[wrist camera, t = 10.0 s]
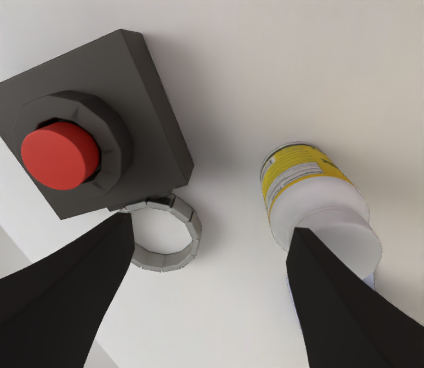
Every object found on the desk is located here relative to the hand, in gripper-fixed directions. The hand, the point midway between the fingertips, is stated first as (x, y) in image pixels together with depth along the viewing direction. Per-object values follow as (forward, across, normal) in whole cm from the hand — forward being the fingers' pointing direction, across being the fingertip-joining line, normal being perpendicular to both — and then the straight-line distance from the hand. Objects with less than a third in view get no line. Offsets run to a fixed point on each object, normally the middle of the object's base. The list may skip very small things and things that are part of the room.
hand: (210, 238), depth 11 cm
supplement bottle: (+10, -6, +1) cm, 12 cm away
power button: (+5, +9, -2) cm, 10 cm away
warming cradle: (+10, +5, +8) cm, 14 cm away
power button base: (+10, +9, -2) cm, 14 cm away
